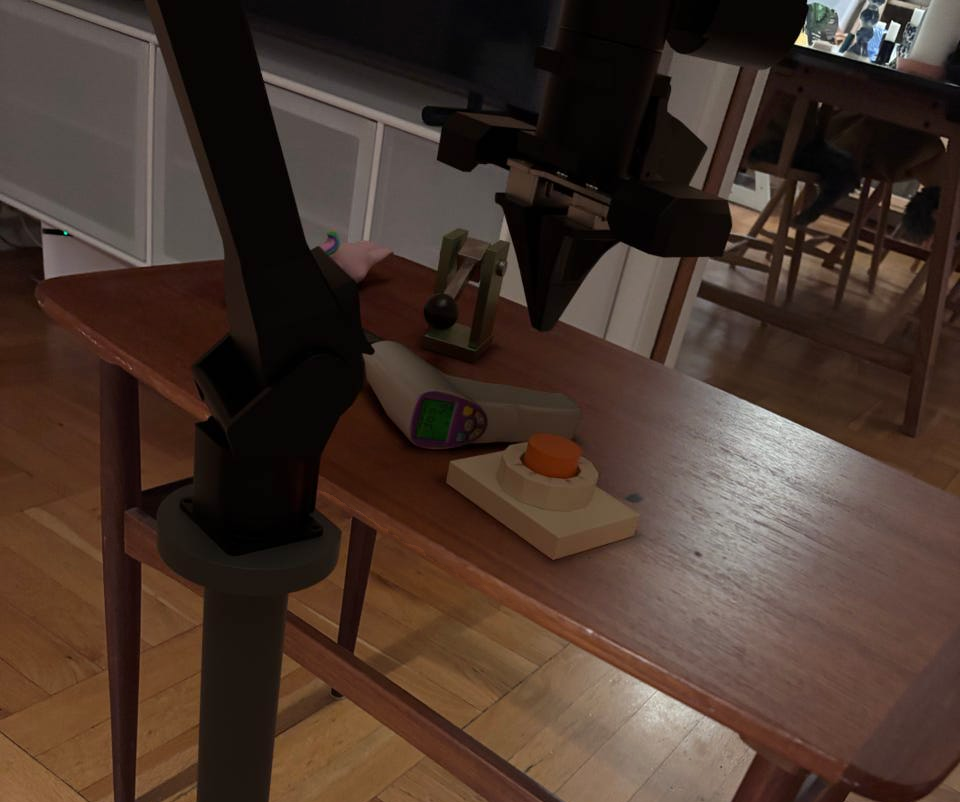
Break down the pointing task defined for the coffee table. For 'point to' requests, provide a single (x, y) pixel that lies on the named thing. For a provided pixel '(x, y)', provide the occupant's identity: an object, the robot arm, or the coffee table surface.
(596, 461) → the coffee table surface
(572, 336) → the coffee table surface
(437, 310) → the switch lever
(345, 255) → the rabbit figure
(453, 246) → the switch bracket
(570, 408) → the infrared thermometer
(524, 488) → the button box
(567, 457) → the button
